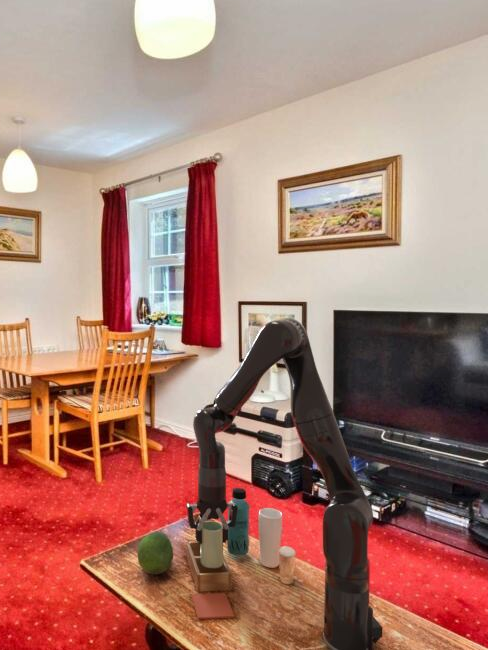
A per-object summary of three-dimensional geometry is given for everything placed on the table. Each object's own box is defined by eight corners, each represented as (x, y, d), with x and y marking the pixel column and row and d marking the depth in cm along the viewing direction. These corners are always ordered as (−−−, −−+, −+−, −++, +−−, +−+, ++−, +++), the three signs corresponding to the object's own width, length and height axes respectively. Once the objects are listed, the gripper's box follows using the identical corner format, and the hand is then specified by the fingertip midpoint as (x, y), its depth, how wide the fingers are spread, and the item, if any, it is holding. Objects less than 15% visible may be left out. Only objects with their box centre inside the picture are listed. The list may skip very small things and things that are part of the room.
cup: (220, 555, 136) (219, 520, 136) (225, 567, 130) (225, 530, 130) (198, 556, 136) (198, 521, 136) (203, 568, 130) (203, 531, 130)
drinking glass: (282, 571, 138) (283, 519, 138) (258, 568, 140) (258, 516, 139) (280, 558, 145) (281, 508, 144) (257, 556, 146) (258, 506, 146)
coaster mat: (225, 594, 127) (225, 592, 127) (234, 617, 118) (234, 615, 118) (191, 596, 127) (191, 594, 127) (197, 619, 118) (197, 617, 118)
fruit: (147, 551, 148) (147, 519, 148) (179, 556, 146) (179, 523, 145) (131, 579, 134) (132, 543, 134) (167, 585, 131) (167, 548, 131)
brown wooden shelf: (216, 555, 147) (216, 540, 147) (231, 590, 129) (231, 573, 129) (186, 556, 146) (186, 541, 146) (197, 591, 129) (197, 575, 128)
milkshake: (291, 589, 130) (292, 552, 130) (274, 580, 134) (275, 544, 134) (301, 583, 133) (302, 546, 132) (284, 574, 137) (285, 539, 137)
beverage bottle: (222, 552, 148) (223, 487, 147) (240, 548, 151) (241, 483, 150) (235, 563, 142) (236, 495, 142) (253, 558, 145) (254, 491, 144)
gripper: (187, 487, 128) (188, 550, 129) (241, 485, 129) (241, 547, 130) (183, 476, 136) (183, 536, 136) (234, 474, 137) (234, 534, 137)
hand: (211, 541), depth 133 cm, fingers closed on cup, 6 cm apart
